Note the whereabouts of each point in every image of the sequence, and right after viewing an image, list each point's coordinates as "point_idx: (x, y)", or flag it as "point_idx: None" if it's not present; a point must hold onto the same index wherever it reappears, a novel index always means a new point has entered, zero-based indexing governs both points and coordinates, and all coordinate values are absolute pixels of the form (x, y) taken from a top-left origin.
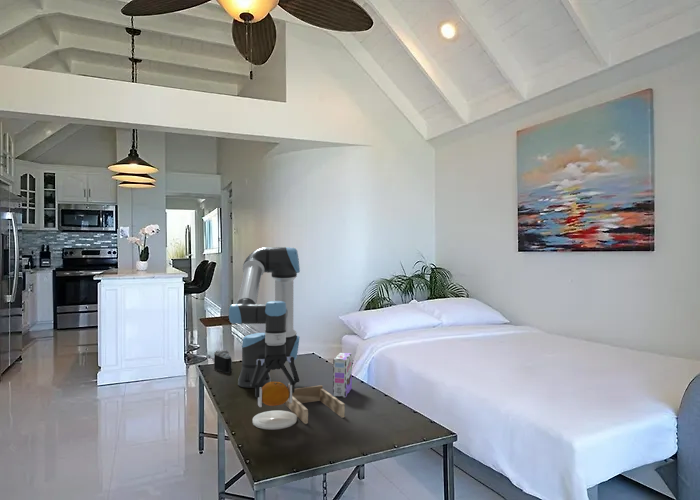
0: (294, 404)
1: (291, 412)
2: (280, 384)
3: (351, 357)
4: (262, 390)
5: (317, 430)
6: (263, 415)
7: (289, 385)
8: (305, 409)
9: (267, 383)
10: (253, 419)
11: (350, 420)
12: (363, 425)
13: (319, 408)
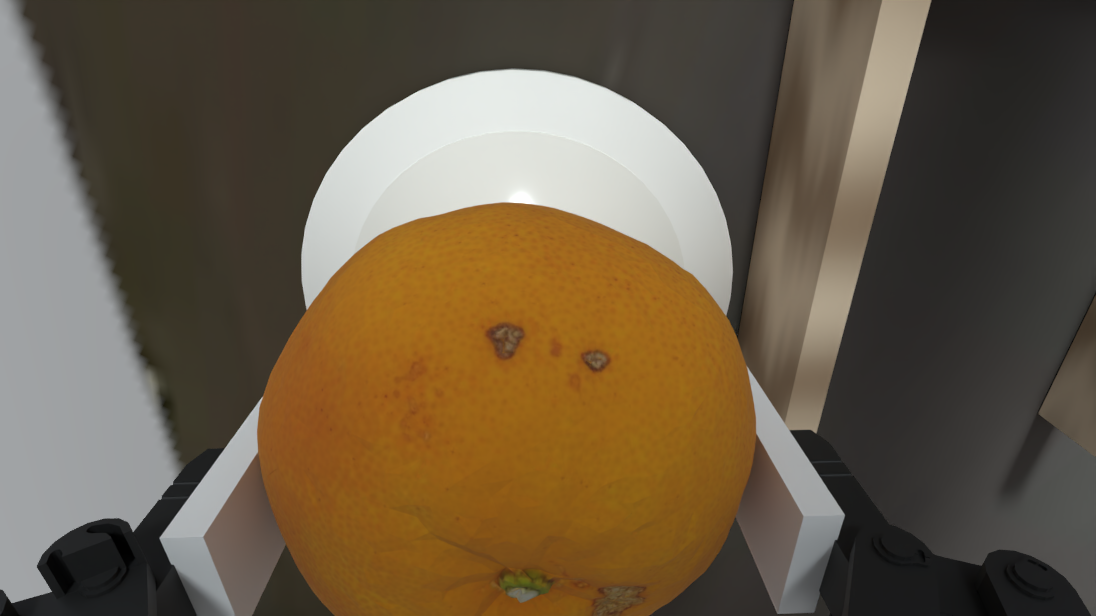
0: (810, 194)
1: (723, 222)
2: (618, 594)
3: None
4: (280, 528)
5: (741, 537)
6: (421, 205)
7: (779, 574)
8: None
9: (357, 537)
10: (309, 265)
11: (1044, 473)
12: None
13: (1079, 117)
